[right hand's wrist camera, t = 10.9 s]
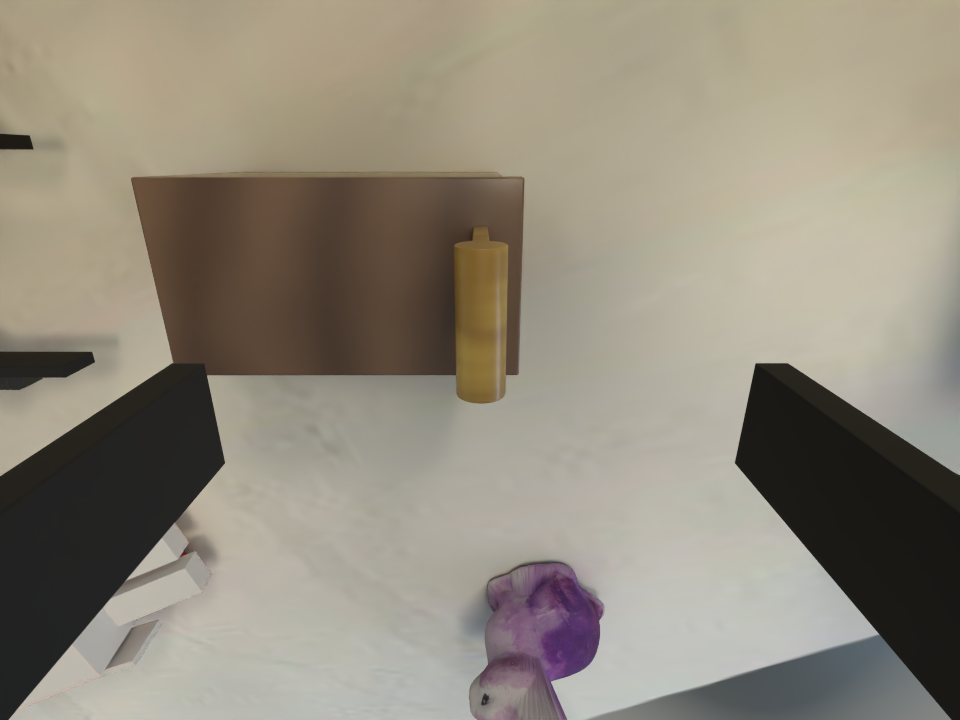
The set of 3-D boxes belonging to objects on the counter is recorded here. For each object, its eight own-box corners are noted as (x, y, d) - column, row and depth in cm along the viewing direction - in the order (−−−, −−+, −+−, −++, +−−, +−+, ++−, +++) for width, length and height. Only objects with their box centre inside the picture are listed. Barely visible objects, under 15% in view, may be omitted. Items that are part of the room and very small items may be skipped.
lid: (522, 176, 25) (544, 184, 17) (517, 366, 29) (532, 451, 21) (145, 176, 25) (-21, 184, 17) (187, 367, 29) (68, 451, 20)
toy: (198, 662, 39) (-168, 812, 39) (250, 547, 52) (-27, 661, 52) (103, 541, 35) (-307, 708, 35) (184, 449, 48) (-116, 571, 48)
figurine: (460, 600, 49) (453, 774, 35) (536, 537, 47) (561, 698, 33) (530, 649, 52) (549, 830, 38) (606, 592, 49) (657, 764, 35)
